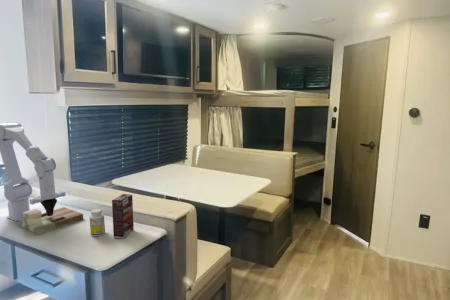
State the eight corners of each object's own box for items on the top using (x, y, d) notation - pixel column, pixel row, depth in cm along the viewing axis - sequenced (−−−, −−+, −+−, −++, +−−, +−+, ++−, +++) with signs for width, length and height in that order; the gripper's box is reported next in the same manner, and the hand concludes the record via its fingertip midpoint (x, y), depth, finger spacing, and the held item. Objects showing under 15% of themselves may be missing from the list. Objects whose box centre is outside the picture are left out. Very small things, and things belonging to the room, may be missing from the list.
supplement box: (124, 239, 124) (122, 201, 122) (113, 238, 125) (110, 200, 123) (134, 230, 133) (132, 194, 130) (124, 229, 134) (122, 193, 131)
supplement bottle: (97, 230, 133) (96, 207, 131) (108, 232, 131) (106, 209, 129) (87, 235, 127) (85, 211, 126) (98, 238, 125) (96, 213, 124)
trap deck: (19, 225, 137) (19, 220, 137) (64, 212, 154) (63, 207, 153) (38, 234, 129) (37, 228, 128) (83, 219, 145) (82, 213, 144)
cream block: (24, 223, 133) (22, 212, 133) (36, 219, 138) (35, 208, 137) (29, 226, 131) (28, 214, 130) (42, 222, 135) (41, 211, 134)
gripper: (34, 191, 129) (37, 222, 132) (68, 183, 141) (70, 212, 144) (26, 188, 133) (29, 219, 136) (59, 181, 145) (62, 209, 147)
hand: (50, 215), depth 140 cm, fingers closed
